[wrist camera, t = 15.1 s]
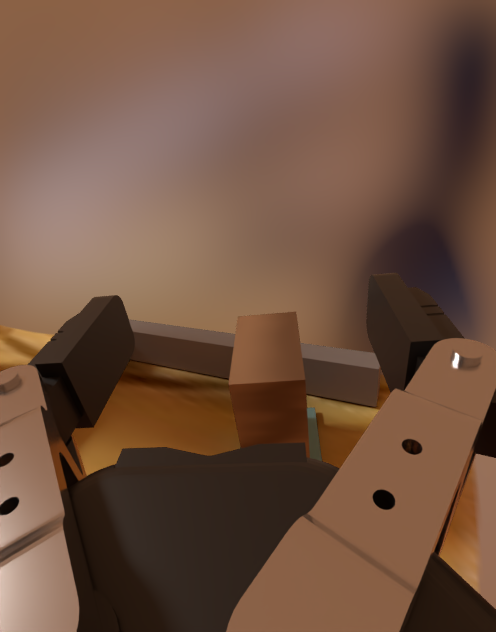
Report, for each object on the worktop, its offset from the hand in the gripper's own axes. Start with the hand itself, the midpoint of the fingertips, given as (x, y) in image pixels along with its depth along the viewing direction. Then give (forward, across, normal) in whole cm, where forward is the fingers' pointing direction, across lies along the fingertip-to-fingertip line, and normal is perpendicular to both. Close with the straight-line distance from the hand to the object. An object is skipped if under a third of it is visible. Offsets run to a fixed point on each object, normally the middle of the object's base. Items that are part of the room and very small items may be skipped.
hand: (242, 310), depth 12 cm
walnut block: (+7, 0, +17) cm, 18 cm away
